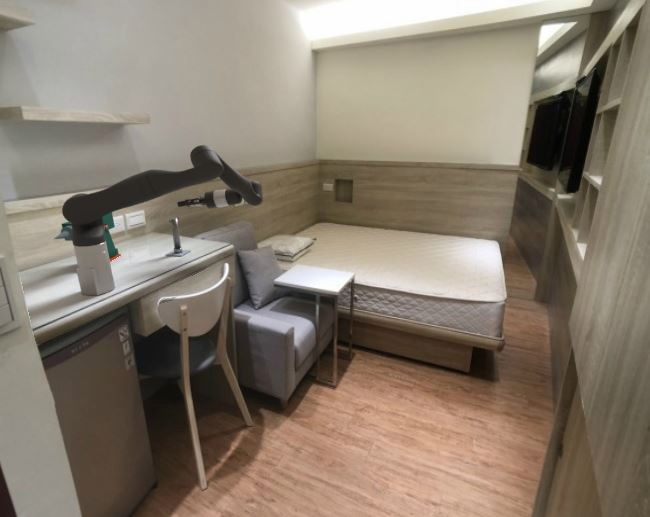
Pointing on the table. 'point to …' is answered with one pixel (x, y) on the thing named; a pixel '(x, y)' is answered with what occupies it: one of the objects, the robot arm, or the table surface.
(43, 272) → the table surface
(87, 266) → the robot arm
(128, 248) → the table surface
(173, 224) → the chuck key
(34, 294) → the table surface
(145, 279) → the table surface
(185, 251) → the rest mat
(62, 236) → the power tool
